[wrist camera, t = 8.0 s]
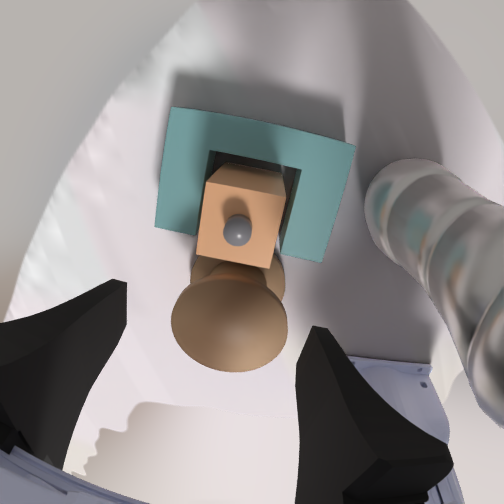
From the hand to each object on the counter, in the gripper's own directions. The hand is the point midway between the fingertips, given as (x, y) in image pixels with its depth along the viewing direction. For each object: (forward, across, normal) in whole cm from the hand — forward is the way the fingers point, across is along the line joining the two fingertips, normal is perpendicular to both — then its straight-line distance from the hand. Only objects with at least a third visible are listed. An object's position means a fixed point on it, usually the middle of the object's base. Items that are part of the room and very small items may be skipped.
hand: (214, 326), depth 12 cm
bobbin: (+10, -1, +3) cm, 10 cm away
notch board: (+10, 0, -4) cm, 11 cm away
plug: (+10, 0, -3) cm, 10 cm away
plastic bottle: (+10, -10, -5) cm, 15 cm away
